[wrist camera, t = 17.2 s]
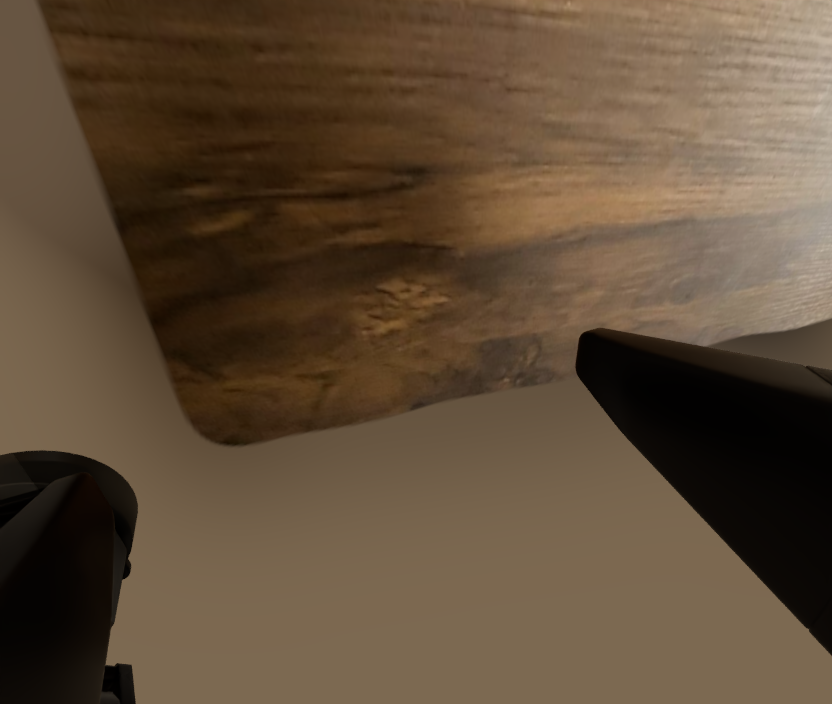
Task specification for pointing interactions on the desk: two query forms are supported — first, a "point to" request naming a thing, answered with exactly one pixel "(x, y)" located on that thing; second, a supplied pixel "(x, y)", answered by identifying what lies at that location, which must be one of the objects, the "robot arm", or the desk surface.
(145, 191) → the desk surface
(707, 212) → the desk surface
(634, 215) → the desk surface
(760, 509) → the robot arm
